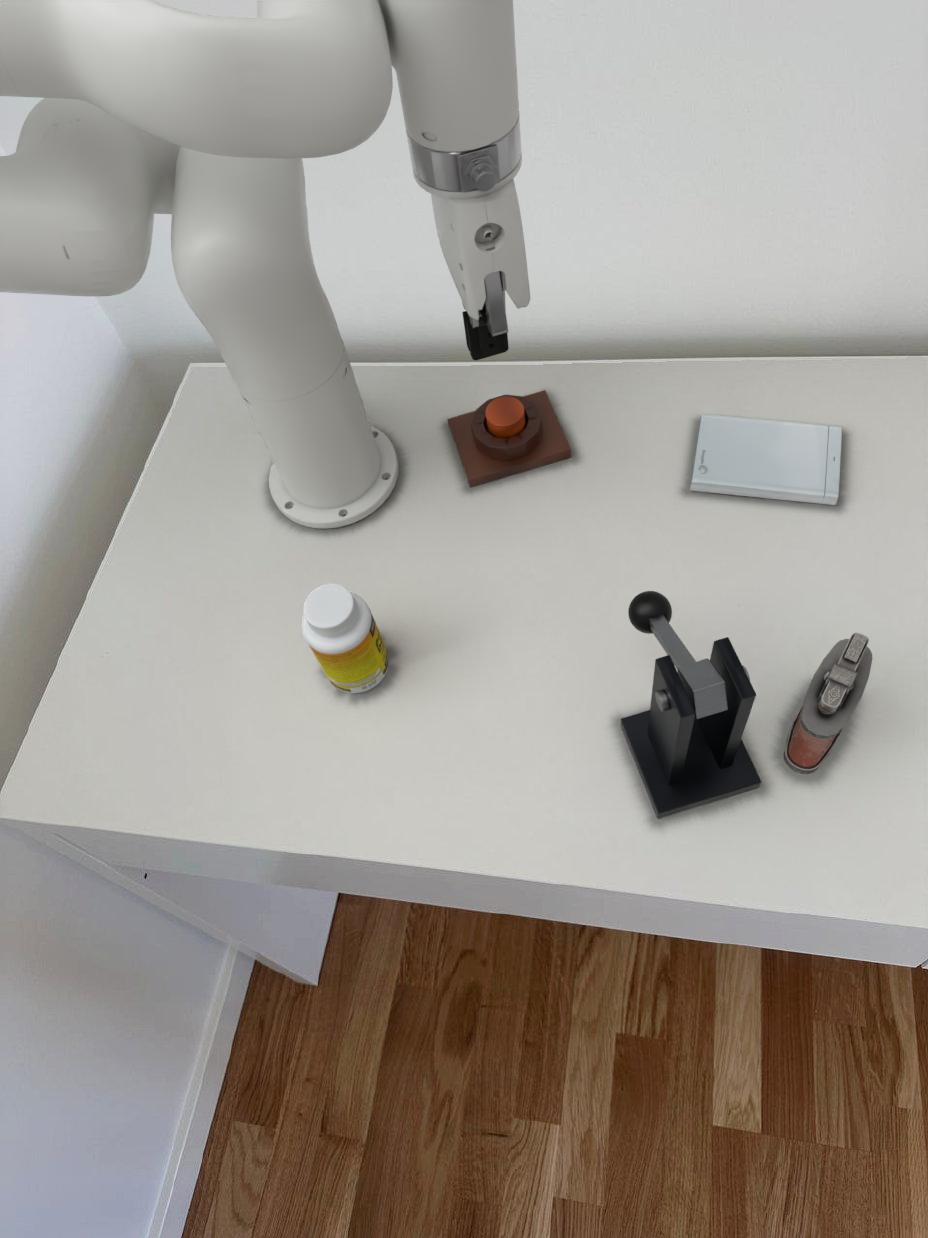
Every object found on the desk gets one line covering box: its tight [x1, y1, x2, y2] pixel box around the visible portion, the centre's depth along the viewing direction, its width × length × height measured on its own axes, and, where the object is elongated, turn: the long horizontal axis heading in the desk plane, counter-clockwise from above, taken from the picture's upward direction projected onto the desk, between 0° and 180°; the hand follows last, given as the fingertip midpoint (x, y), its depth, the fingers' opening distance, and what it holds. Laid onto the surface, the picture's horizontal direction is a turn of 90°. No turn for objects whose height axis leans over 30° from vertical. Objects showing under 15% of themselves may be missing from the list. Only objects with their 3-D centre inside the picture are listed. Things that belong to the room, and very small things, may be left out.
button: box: [485, 397, 525, 438], centre depth 85 cm, size 4×4×2 cm
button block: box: [446, 389, 572, 488], centre depth 87 cm, size 10×8×3 cm
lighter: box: [783, 632, 873, 775], centre depth 66 cm, size 8×3×10 cm, turn 148°
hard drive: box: [689, 413, 843, 506], centre depth 82 cm, size 2×8×12 cm
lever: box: [627, 590, 728, 719], centre depth 64 cm, size 13×3×3 cm, turn 15°
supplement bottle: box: [301, 583, 390, 694], centre depth 74 cm, size 6×6×10 cm
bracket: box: [620, 636, 762, 820], centre depth 64 cm, size 8×8×14 cm
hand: (488, 349), depth 77 cm, fingers closed
